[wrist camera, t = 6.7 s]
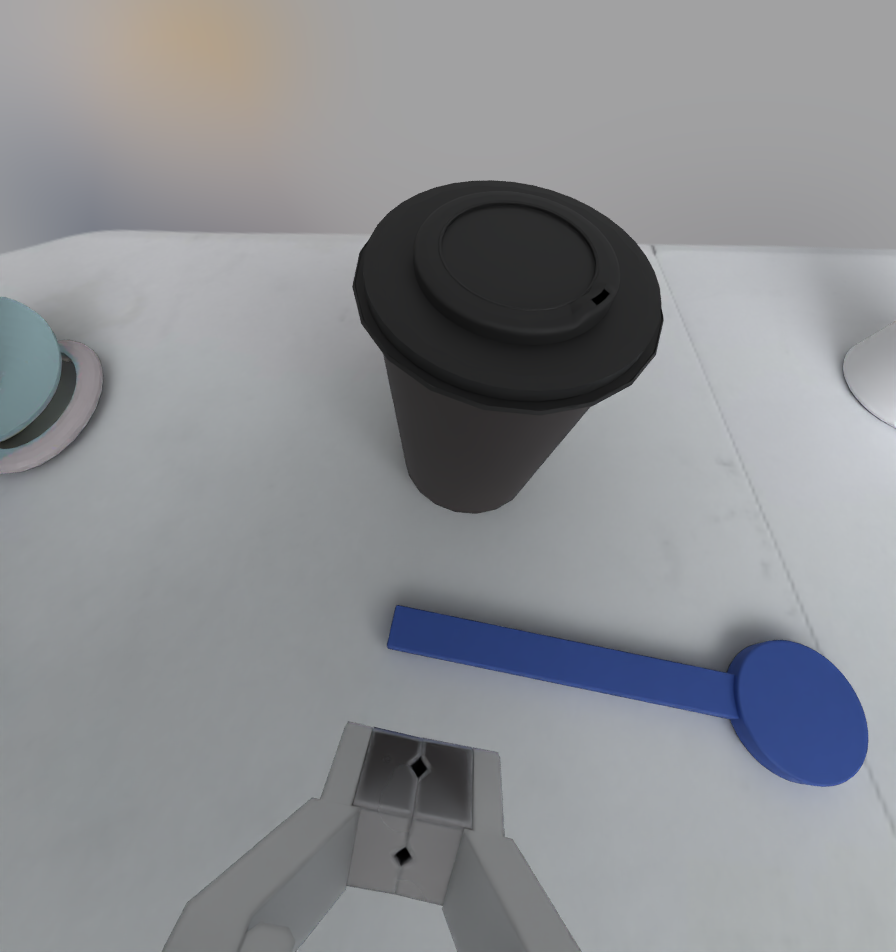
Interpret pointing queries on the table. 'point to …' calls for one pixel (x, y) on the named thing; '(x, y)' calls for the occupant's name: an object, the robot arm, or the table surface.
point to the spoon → (679, 687)
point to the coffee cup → (501, 329)
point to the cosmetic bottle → (874, 373)
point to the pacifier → (40, 385)
